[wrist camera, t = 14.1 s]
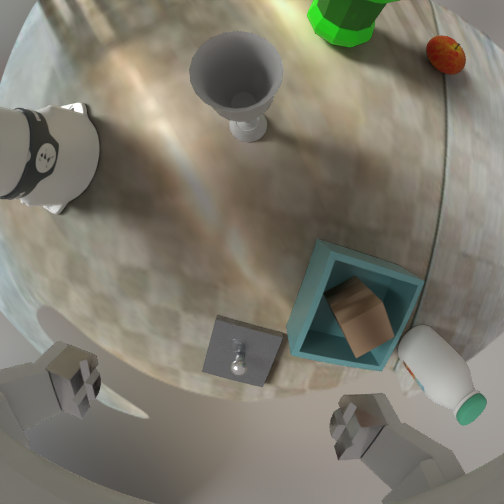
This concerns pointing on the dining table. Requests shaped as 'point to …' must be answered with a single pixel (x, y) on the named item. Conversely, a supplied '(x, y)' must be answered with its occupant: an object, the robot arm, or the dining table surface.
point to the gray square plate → (241, 351)
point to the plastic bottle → (345, 20)
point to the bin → (322, 319)
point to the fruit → (446, 54)
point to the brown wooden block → (359, 315)
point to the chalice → (238, 80)
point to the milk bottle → (441, 373)
